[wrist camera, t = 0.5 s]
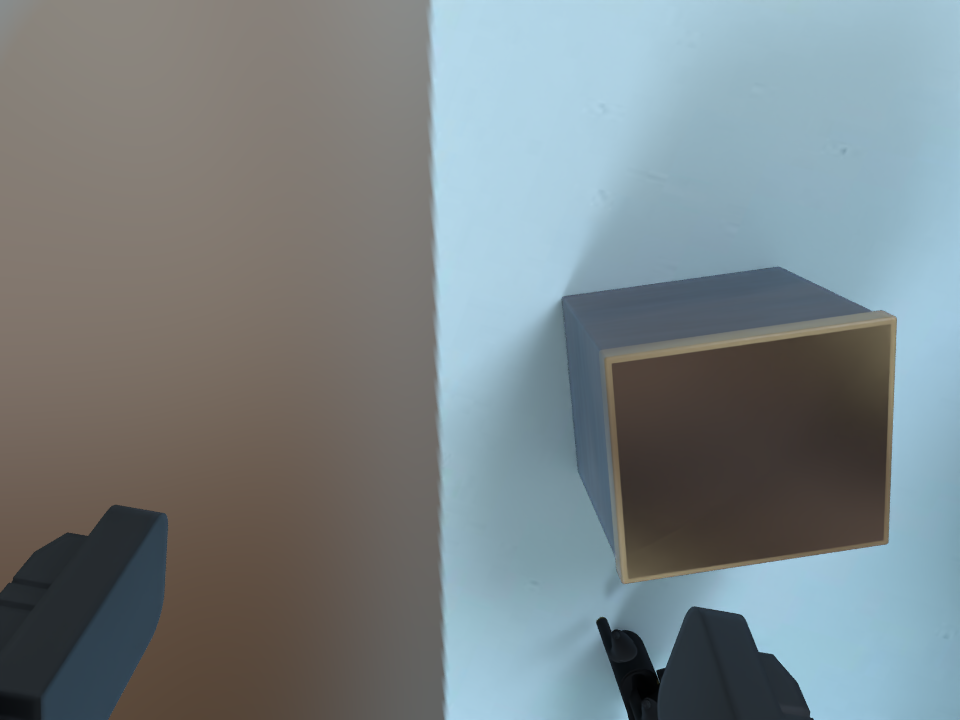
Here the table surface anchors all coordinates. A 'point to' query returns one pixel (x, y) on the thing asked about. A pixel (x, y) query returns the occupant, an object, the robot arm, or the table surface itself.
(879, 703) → the table surface
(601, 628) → the wireless earbuds
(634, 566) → the box
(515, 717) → the table surface
